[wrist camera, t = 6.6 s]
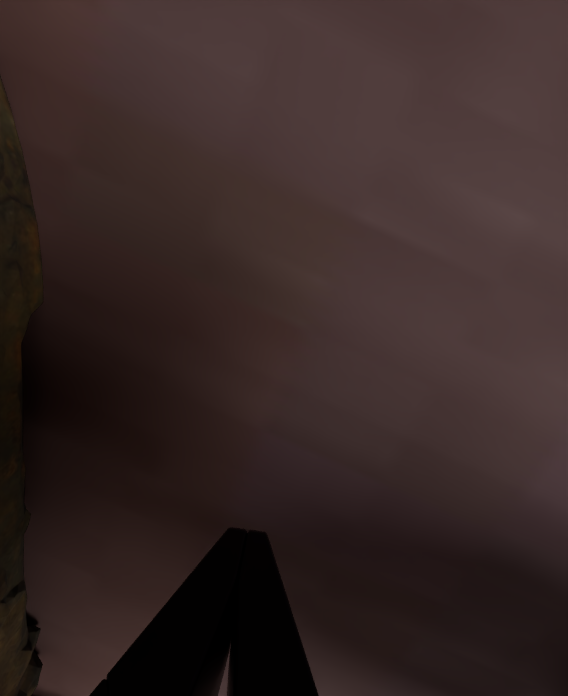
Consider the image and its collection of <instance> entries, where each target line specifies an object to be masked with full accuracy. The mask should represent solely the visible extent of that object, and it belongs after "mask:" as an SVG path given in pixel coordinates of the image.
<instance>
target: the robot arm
mask: <svg viewBox="0 0 568 696" xmlns="http://www.w3.org/2000/svg"><path fill="white" fill-rule="evenodd" d="M230 644H231V648H230ZM229 650H230V658H229V670H228V685H227V696H319V695H318V692H317V689H316V686H315V683H314V680H313V676H312V673H311V670H310V667H309V664H308V661H307V658H306V654H305V651H304V648H303V645H302V642H301V639H300V636H299V632H298V629H297V626H296V623H295V620H294V617H293V614H292V611H291V607H290V604H289V601H288V598H287V595H286V592H285V589H284V585H283V582H282V579H281V576H280V573H279V570H278V567H277V563H276V560H275V557H274V554H273V551H272V548H271V545H270V541H269V538H268V535H267V534H266V533H265V532H262V531H255V530H249V531H248V533H247V531H246V530H245V529H240V528H233V527H230V528H228V529H227V530H226V531H225V533H224V534H223V535H222V536H221V538H220V539H219V540H218V541H217V542H216V544H215V545H214V546H213V547H212V548H211V550H210V551H209V552H208V553H207V554H206V556H205V557H204V558H203V559H202V560H201V562H200V563H199V564H198V565H197V567H196V568H195V569H194V570H193V571H192V573H191V574H190V575H189V576H188V577H187V579H186V580H185V581H184V582H183V583H182V585H181V586H180V587H179V588H178V589H177V591H176V592H175V593H174V594H173V596H172V597H171V598H170V599H169V600H168V602H167V603H166V604H165V605H164V606H163V608H162V609H161V610H160V611H159V612H158V614H157V615H156V616H155V617H154V618H153V620H152V621H151V622H150V623H149V624H148V626H147V627H146V628H145V629H144V631H143V632H142V633H141V634H140V635H139V637H138V638H137V639H136V640H135V641H134V643H133V644H132V645H131V646H130V647H129V649H128V650H127V651H126V652H125V653H124V655H123V656H122V657H121V658H120V660H119V661H118V662H117V663H116V664H115V666H114V667H113V668H112V669H111V670H110V672H109V673H108V674H107V680H106V679H103V680H102V681H101V682H100V683H99V685H98V686H97V687H96V688H95V689H94V691H93V692H92V693H91V694H90V695H89V696H218V693H219V689H220V685H221V682H222V678H223V674H224V670H225V667H226V662H227V658H228V654H229Z"/></svg>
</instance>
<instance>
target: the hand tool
mask: <svg viewBox="0 0 568 696" xmlns="http://www.w3.org/2000/svg"><path fill="white" fill-rule="evenodd" d="M42 303H43V279H42V262H41V252H40V244H39V235H38V226H37V221H36V216H35V211H34V207H33V202H32V196H31V191H30V185H29V181H28V176H27V171H26V167H25V162H24V158H23V153H22V149H21V145H20V142H19V138H18V135H17V131H16V128H15V123H14V119H13V115H12V111H11V107H10V104H9V101H8V98H7V95H6V92H5V89H4V86H3V82H2V79H1V76H0V696H31V695H32V694H33V692H34V690H35V688H36V687H37V685H38V681H39V676H40V672H41V668H42V665H43V664H42V662H41V660H40V659H39V657H38V655H37V654H36V653H35V652H34V651H33V650H34V648H35V645H36V643H37V640H38V636H39V632H40V628H38V627H36V626H35V625H32V626H27V622H26V601H27V594H26V587H25V580H24V567H23V554H24V533H25V531H26V529H27V527H28V524H29V520H30V516H31V514H30V513H29V511H28V510H27V509H26V507H25V504H24V481H25V472H26V468H25V464H24V459H23V388H22V357H21V342H22V340H23V337H24V335H25V332H26V330H27V326H28V322H29V319H30V316H31V313H33V312H34V311H35V310H36V309H37V308H38V307H39V306H40V305H41V304H42Z"/></svg>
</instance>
